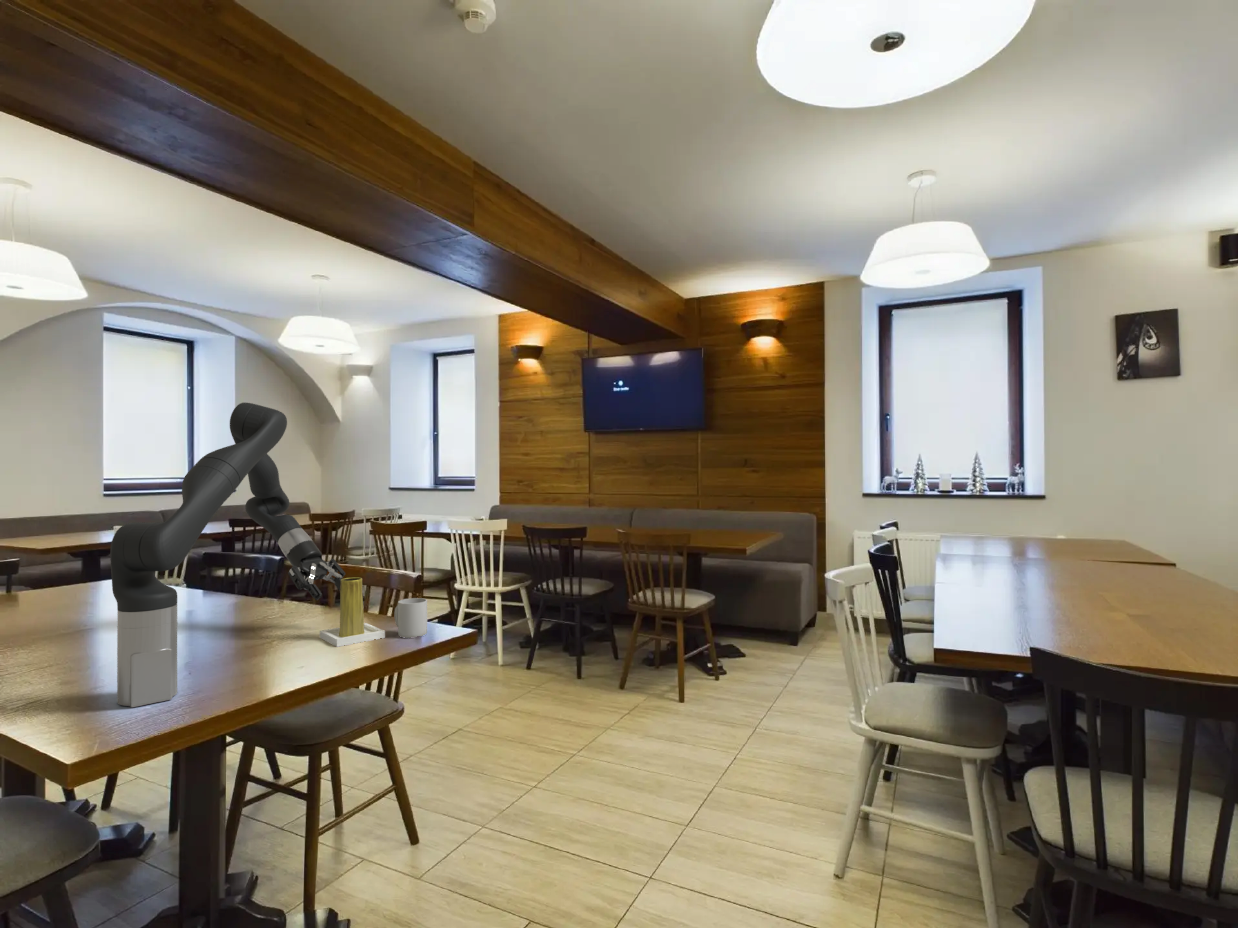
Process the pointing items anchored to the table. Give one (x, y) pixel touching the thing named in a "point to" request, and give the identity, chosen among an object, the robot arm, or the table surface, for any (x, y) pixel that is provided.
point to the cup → (411, 617)
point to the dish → (337, 641)
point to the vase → (351, 607)
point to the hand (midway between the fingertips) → (332, 594)
